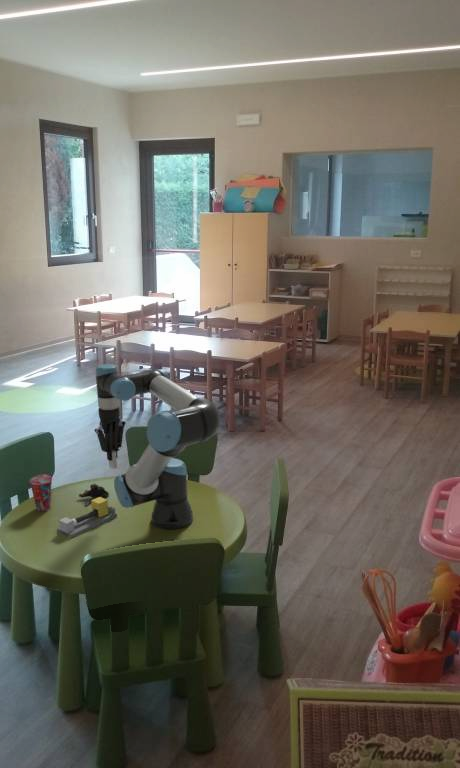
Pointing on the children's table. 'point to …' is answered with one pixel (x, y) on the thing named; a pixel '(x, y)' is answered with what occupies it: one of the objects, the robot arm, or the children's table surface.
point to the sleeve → (100, 506)
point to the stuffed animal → (94, 493)
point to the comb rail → (84, 522)
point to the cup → (42, 491)
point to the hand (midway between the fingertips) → (113, 467)
